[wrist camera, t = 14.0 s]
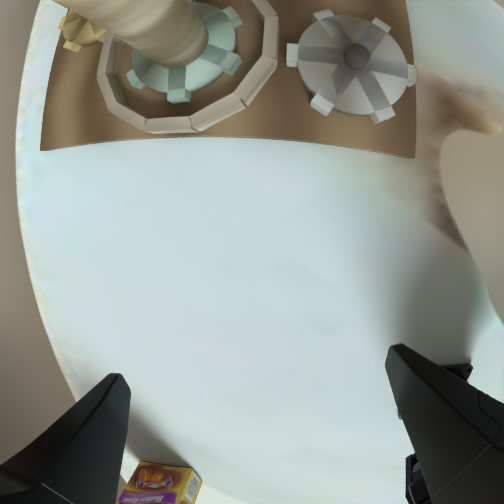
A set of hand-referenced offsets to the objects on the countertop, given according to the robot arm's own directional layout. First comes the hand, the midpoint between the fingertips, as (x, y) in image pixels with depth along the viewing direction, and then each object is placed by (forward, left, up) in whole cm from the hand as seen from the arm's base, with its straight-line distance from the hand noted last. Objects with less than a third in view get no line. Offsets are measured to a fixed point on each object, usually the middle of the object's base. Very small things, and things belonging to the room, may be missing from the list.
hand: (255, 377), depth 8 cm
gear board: (+6, -17, -12) cm, 21 cm away
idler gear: (+7, -15, -11) cm, 20 cm away
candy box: (+11, +32, -12) cm, 36 cm away
